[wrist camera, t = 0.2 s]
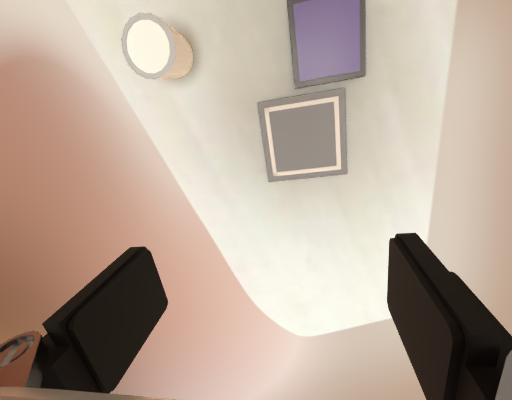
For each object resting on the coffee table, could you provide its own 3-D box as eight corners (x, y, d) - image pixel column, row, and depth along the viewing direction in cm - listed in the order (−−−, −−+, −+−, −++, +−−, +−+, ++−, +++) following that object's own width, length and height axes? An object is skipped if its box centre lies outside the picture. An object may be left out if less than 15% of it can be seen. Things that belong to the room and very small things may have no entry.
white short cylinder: (206, 65, 36) (186, 58, 29) (171, 91, 38) (144, 90, 31) (178, 16, 34) (150, -3, 28) (143, 47, 36) (109, 36, 30)
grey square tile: (257, 102, 36) (256, 102, 36) (344, 87, 34) (345, 87, 33) (269, 180, 41) (268, 182, 40) (346, 172, 38) (347, 174, 37)
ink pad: (287, 2, 31) (286, -2, 30) (363, -17, 29) (365, -22, 28) (295, 88, 35) (295, 88, 34) (363, 76, 33) (365, 75, 32)
